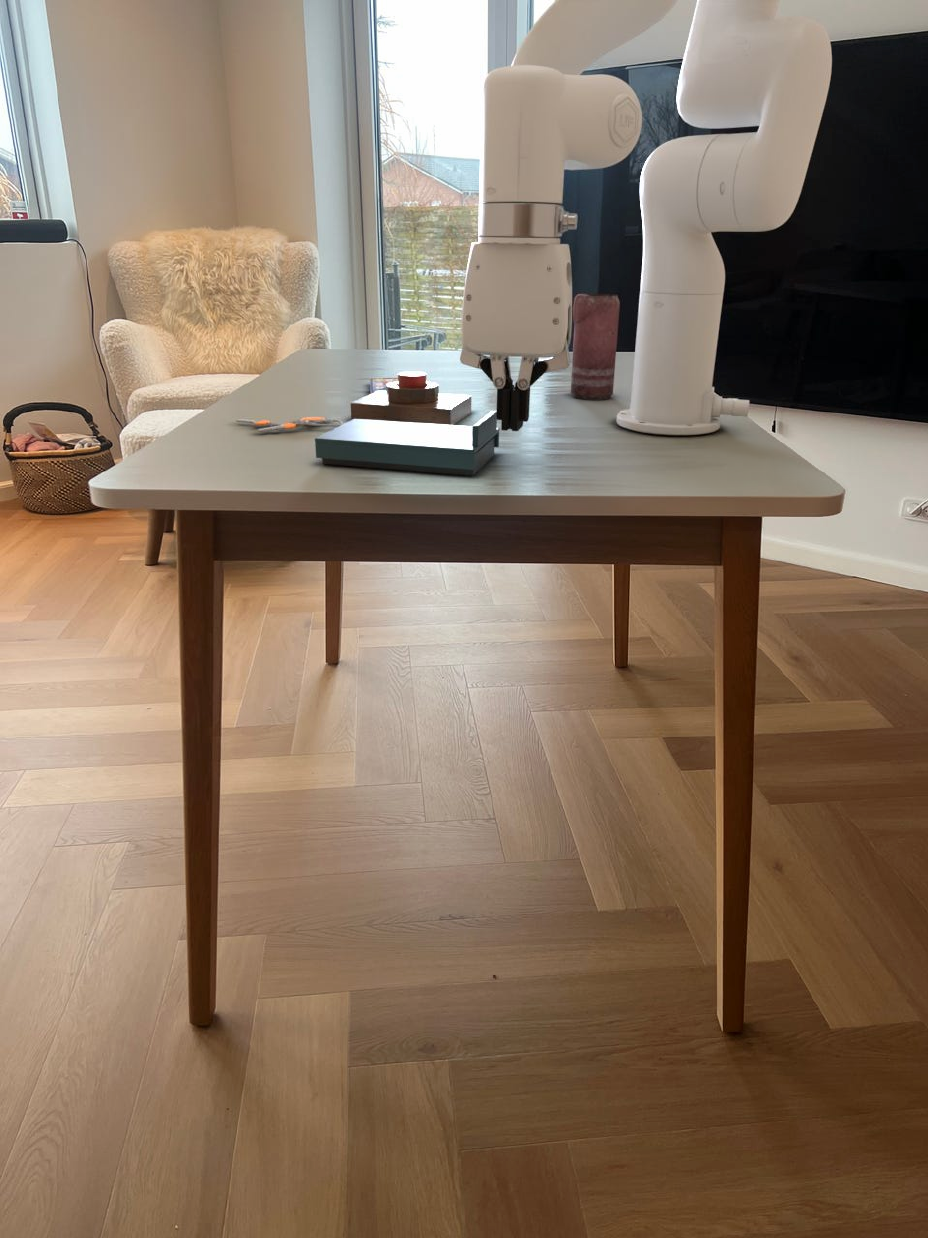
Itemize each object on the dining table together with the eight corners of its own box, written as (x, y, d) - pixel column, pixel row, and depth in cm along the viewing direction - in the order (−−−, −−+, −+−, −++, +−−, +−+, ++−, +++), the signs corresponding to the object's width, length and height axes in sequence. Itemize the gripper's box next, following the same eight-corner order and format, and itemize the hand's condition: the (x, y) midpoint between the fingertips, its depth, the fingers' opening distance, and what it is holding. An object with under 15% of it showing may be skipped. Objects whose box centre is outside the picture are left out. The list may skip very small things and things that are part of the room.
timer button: (430, 386, 112) (429, 372, 111) (421, 390, 109) (421, 376, 108) (403, 384, 113) (403, 370, 112) (394, 389, 110) (393, 375, 109)
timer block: (471, 412, 115) (471, 381, 114) (450, 427, 106) (450, 393, 105) (378, 406, 118) (377, 376, 117) (351, 420, 109) (349, 388, 108)
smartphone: (370, 402, 121) (370, 384, 135) (423, 400, 122) (417, 382, 135) (370, 395, 121) (369, 378, 134) (423, 393, 121) (417, 376, 135)
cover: (498, 446, 94) (499, 408, 92) (474, 470, 84) (474, 428, 83) (354, 436, 97) (353, 400, 96) (315, 457, 88) (313, 418, 87)
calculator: (494, 455, 93) (494, 435, 92) (473, 476, 85) (473, 455, 85) (354, 445, 97) (354, 426, 96) (322, 464, 89) (320, 443, 88)
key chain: (340, 418, 110) (340, 411, 109) (345, 430, 103) (345, 423, 103) (236, 421, 107) (235, 414, 107) (234, 434, 101) (234, 426, 100)
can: (565, 393, 129) (570, 292, 124) (607, 392, 130) (614, 292, 124) (573, 400, 124) (579, 295, 118) (616, 399, 124) (625, 295, 119)
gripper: (606, 228, 81) (591, 426, 88) (452, 226, 84) (450, 416, 92) (596, 227, 74) (581, 441, 82) (429, 224, 78) (429, 430, 85)
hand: (512, 427), depth 87 cm, fingers closed
